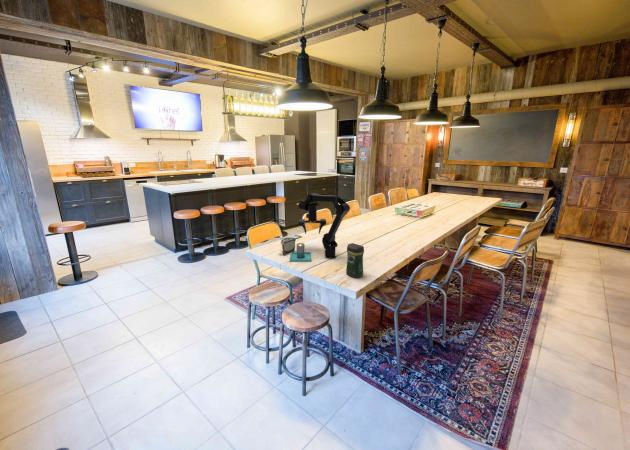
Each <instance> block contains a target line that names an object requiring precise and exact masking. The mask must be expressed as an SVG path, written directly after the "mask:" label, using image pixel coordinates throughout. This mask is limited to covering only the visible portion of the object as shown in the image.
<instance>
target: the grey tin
mask: <svg viewBox="0 0 630 450" xmlns="http://www.w3.org/2000/svg"><path fill="white" fill-rule="evenodd" d="M296 252H297V258H300V259H302V258H304V257H305V252H306V251H305V243H303V242H299V243H296Z"/></svg>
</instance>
